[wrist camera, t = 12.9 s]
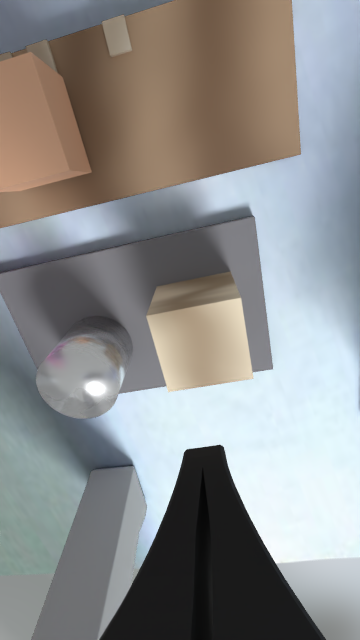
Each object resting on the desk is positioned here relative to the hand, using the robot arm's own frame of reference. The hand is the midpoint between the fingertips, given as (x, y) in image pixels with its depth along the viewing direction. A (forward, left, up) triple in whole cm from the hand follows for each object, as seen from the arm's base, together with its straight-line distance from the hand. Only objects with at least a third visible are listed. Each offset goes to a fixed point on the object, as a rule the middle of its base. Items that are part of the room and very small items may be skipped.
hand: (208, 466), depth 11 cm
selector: (+6, -13, -9) cm, 17 cm away
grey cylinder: (+7, -1, -10) cm, 12 cm away
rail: (+3, -13, -10) cm, 17 cm away
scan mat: (+4, -2, -10) cm, 11 cm away
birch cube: (0, -2, -10) cm, 10 cm away
